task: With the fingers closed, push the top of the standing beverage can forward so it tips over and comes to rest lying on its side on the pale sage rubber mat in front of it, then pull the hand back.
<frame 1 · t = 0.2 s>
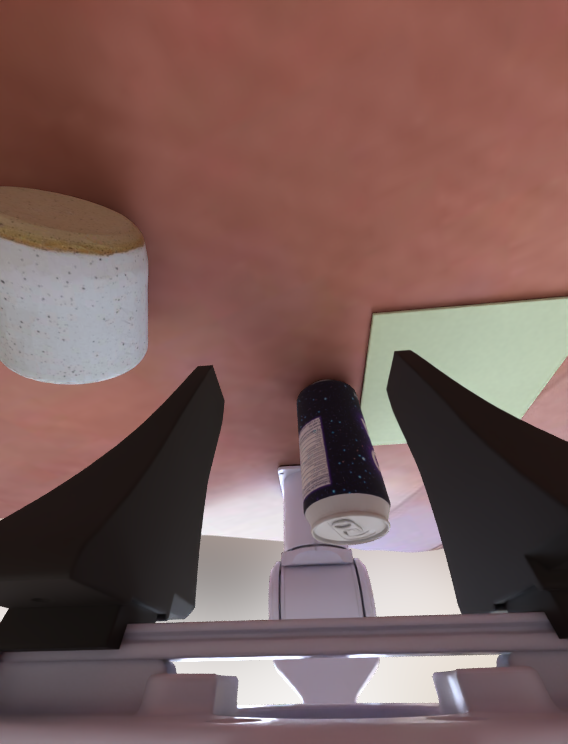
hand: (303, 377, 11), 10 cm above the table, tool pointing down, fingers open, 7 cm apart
white cylinder: (87, 263, 18), on the table
beverage can: (325, 394, 26), on the table
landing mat: (452, 386, 25), on the table
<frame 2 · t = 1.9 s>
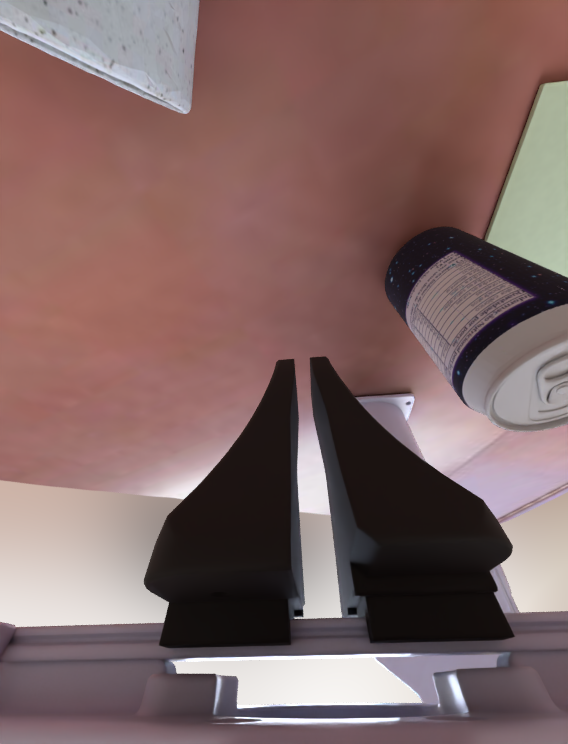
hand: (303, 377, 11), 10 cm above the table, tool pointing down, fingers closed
beverage can: (421, 268, 19), on the table
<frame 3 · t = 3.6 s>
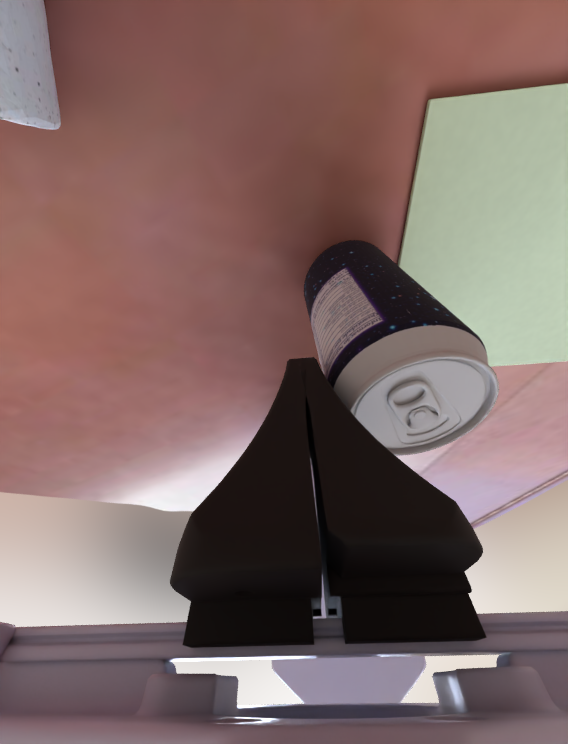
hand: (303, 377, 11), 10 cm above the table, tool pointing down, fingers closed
beverage can: (343, 280, 18), on the table, touching gripper
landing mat: (525, 265, 18), on the table
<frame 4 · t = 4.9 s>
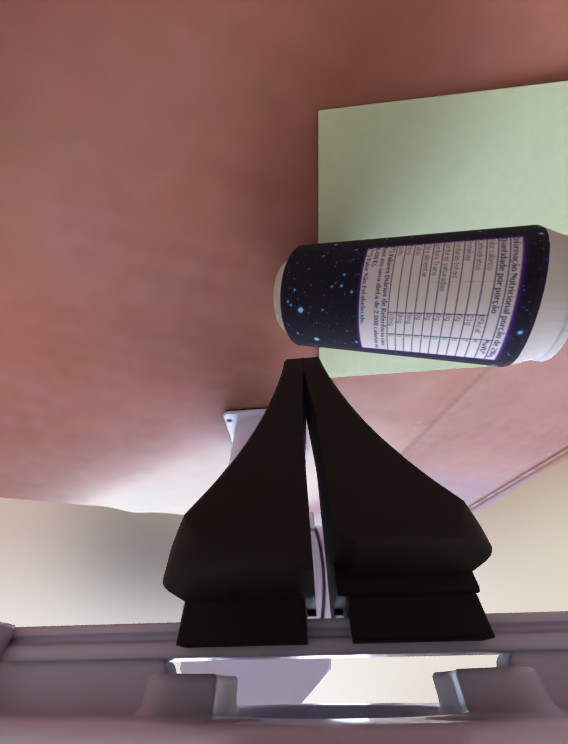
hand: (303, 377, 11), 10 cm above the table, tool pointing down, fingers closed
beverage can: (288, 297, 16), point 2 cm above the table
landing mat: (445, 271, 18), on the table
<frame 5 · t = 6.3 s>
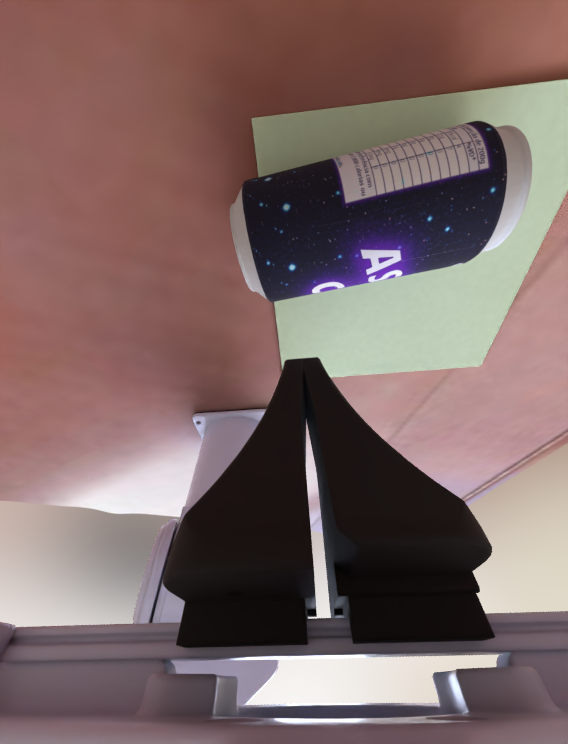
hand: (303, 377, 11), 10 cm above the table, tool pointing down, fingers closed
beverage can: (240, 251, 14), point 3 cm above the table, touching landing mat
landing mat: (396, 275, 18), on the table
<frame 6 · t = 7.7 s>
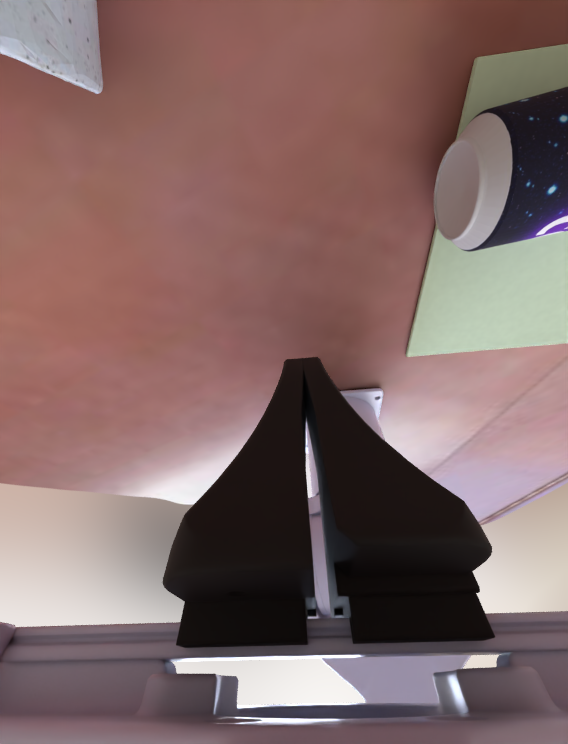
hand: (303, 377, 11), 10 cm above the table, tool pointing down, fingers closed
beverage can: (448, 194, 13), point 3 cm above the table, touching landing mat
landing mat: (564, 237, 17), on the table
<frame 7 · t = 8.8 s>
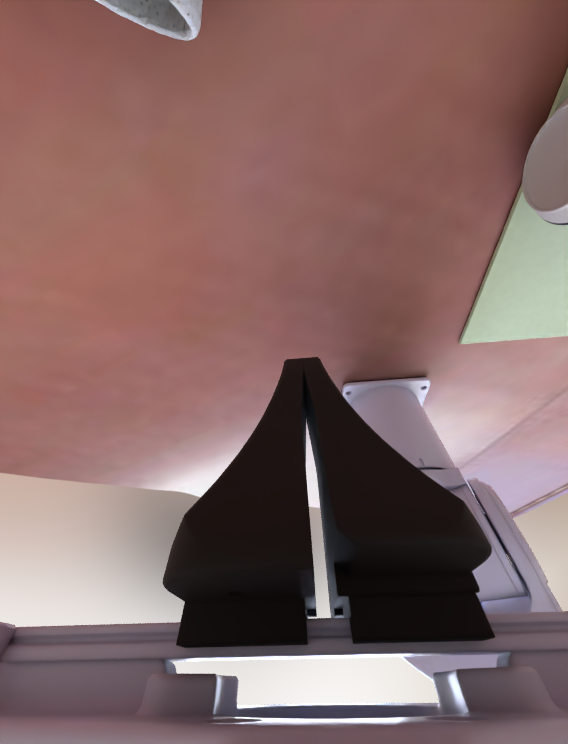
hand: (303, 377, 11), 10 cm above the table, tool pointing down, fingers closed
beverage can: (552, 162, 12), point 3 cm above the table, touching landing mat
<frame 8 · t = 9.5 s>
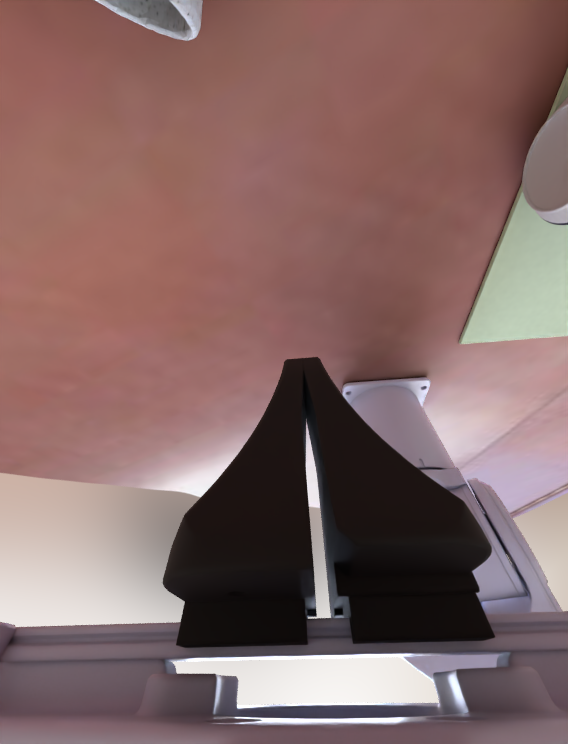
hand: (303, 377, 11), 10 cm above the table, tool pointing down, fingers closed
beverage can: (552, 162, 12), point 3 cm above the table, touching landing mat
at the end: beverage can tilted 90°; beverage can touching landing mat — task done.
